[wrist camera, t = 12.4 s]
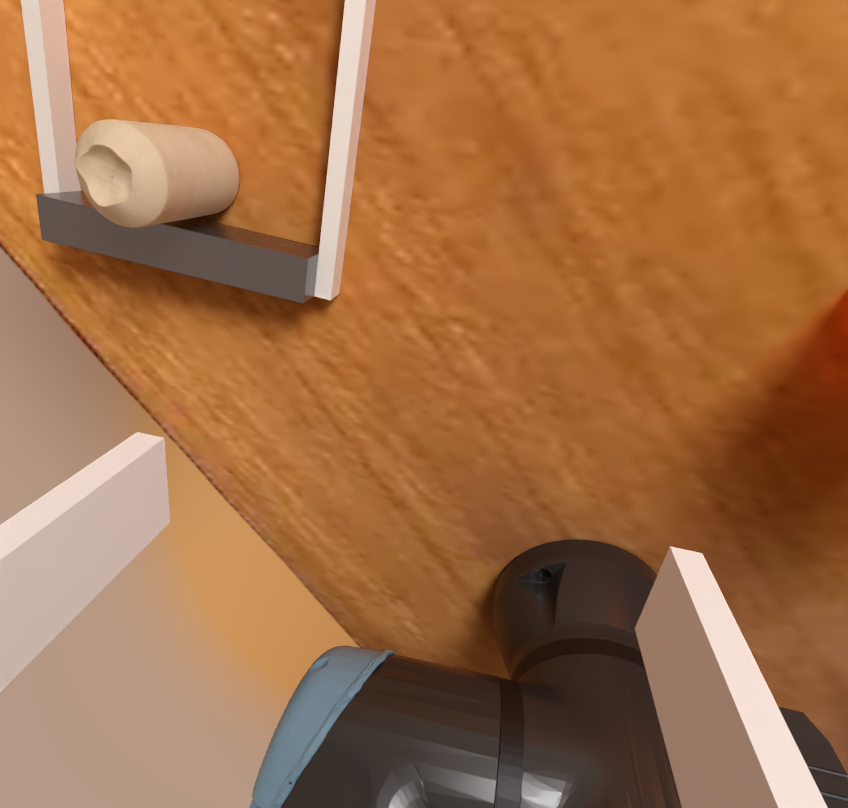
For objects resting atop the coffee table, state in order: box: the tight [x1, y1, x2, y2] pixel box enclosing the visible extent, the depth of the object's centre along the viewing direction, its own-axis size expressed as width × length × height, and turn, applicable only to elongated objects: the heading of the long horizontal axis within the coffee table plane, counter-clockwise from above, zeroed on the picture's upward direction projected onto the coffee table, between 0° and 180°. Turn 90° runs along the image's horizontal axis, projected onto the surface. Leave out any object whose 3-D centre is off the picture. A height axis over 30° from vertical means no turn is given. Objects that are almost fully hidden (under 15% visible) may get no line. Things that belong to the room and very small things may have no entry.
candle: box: [75, 119, 240, 228], centre depth 32 cm, size 6×6×10 cm
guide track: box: [21, 0, 376, 303], centre depth 32 cm, size 25×21×4 cm
